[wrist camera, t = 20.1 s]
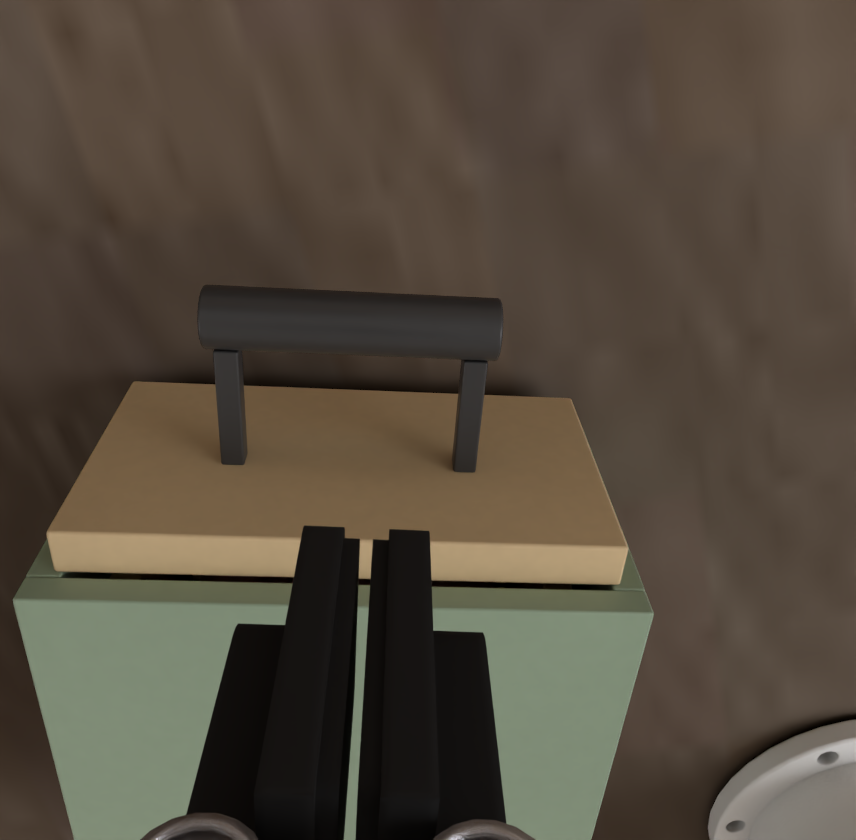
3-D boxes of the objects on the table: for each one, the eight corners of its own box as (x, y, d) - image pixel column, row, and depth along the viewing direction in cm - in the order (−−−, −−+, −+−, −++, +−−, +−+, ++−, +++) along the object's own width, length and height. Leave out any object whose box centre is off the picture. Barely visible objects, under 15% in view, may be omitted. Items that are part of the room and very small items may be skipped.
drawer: (112, 225, 22) (1, 339, 16) (597, 249, 23) (674, 367, 17) (178, 725, 33) (127, 914, 26) (512, 729, 33) (541, 912, 27)
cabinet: (125, 399, 26) (10, 599, 18) (578, 416, 27) (655, 613, 19) (173, 743, 34) (109, 982, 27) (517, 747, 35) (553, 978, 28)
